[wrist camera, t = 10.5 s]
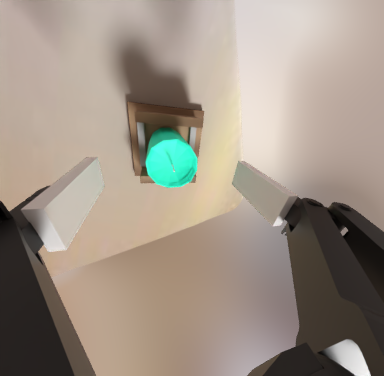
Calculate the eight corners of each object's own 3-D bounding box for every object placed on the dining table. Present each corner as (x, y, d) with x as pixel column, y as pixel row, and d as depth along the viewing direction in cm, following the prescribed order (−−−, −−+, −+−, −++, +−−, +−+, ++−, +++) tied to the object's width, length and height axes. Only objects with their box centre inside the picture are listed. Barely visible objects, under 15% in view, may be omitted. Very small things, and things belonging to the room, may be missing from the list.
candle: (189, 143, 25) (212, 167, 15) (168, 167, 27) (176, 203, 17) (164, 118, 22) (171, 127, 12) (141, 146, 24) (131, 175, 14)
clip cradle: (128, 101, 21) (119, 100, 16) (202, 111, 24) (214, 112, 19) (135, 173, 27) (131, 188, 22) (194, 173, 30) (202, 187, 25)
